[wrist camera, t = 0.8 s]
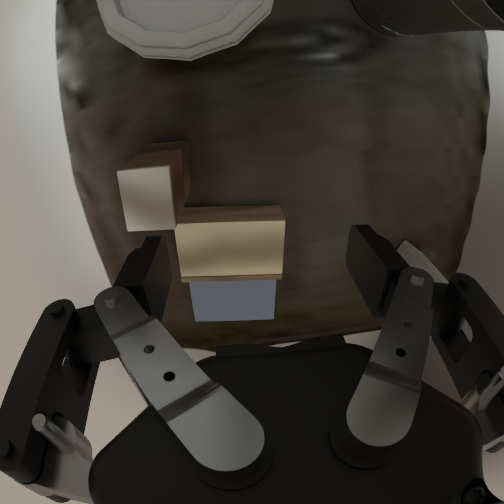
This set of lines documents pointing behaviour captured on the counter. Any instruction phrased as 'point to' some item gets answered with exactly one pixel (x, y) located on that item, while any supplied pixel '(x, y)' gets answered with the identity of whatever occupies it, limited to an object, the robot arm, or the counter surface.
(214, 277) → the beech step
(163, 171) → the walnut block
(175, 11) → the disposable coffee cup
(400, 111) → the counter surface
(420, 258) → the skincare box
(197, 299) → the rubber mat
